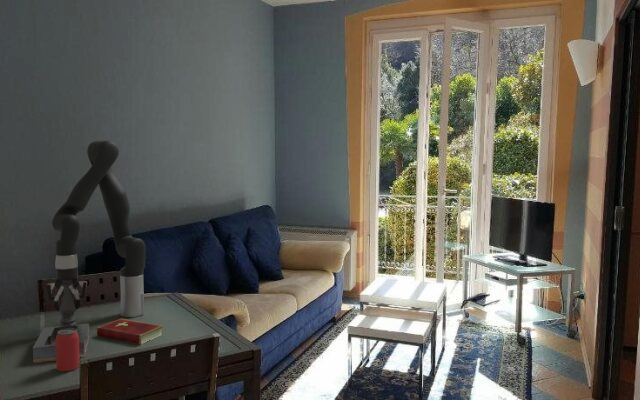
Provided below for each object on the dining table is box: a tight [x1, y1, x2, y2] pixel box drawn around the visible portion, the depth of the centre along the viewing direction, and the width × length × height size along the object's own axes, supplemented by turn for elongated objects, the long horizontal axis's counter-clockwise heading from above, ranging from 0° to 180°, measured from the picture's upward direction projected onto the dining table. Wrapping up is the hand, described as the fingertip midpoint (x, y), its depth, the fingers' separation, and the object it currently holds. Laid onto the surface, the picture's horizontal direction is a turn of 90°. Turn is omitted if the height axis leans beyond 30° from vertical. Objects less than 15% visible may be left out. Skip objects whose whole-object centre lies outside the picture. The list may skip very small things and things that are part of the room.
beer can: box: [55, 328, 80, 372], centre depth 156 cm, size 7×7×12 cm
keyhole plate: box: [32, 322, 90, 363], centre depth 173 cm, size 15×21×5 cm
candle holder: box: [58, 280, 78, 326], centre depth 189 cm, size 6×6×25 cm
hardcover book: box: [96, 318, 164, 346], centre depth 187 cm, size 12×21×4 cm, turn 67°
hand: (67, 309), depth 189 cm, fingers closed on candle holder, 6 cm apart
